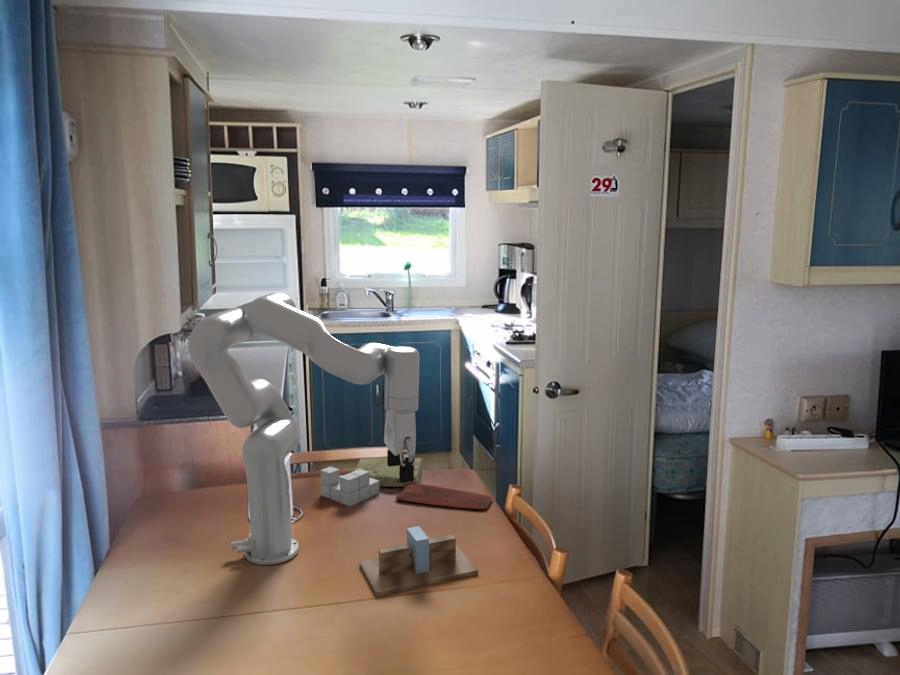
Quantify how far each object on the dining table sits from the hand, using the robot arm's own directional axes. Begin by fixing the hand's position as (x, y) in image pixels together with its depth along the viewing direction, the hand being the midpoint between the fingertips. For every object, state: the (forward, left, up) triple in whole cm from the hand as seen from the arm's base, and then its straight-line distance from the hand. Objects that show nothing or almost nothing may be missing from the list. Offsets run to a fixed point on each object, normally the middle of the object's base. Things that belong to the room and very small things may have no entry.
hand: (400, 473), depth 157 cm
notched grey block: (+2, -5, -21) cm, 22 cm away
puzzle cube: (-2, +42, -23) cm, 48 cm away
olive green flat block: (+12, +50, -22) cm, 56 cm away
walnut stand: (+2, -5, -22) cm, 23 cm away
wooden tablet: (+22, +28, -22) cm, 42 cm away
